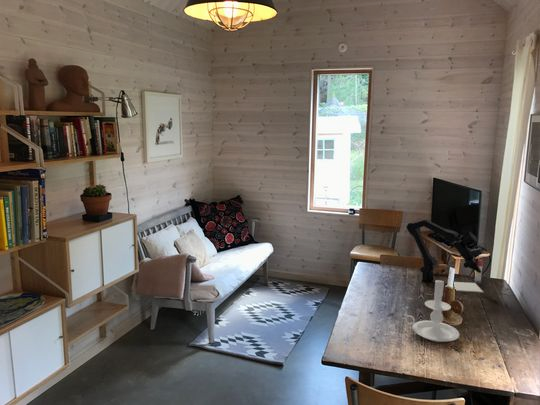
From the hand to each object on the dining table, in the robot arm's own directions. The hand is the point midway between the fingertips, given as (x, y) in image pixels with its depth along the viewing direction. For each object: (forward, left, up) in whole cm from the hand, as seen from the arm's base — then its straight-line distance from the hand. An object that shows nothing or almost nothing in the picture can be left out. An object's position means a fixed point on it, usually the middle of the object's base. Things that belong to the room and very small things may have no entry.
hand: (481, 271), depth 255 cm
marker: (-1, +1, -7) cm, 7 cm away
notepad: (-6, +8, -13) cm, 16 cm away
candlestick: (-41, -60, -13) cm, 74 cm away
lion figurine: (-15, +32, -13) cm, 38 cm away
